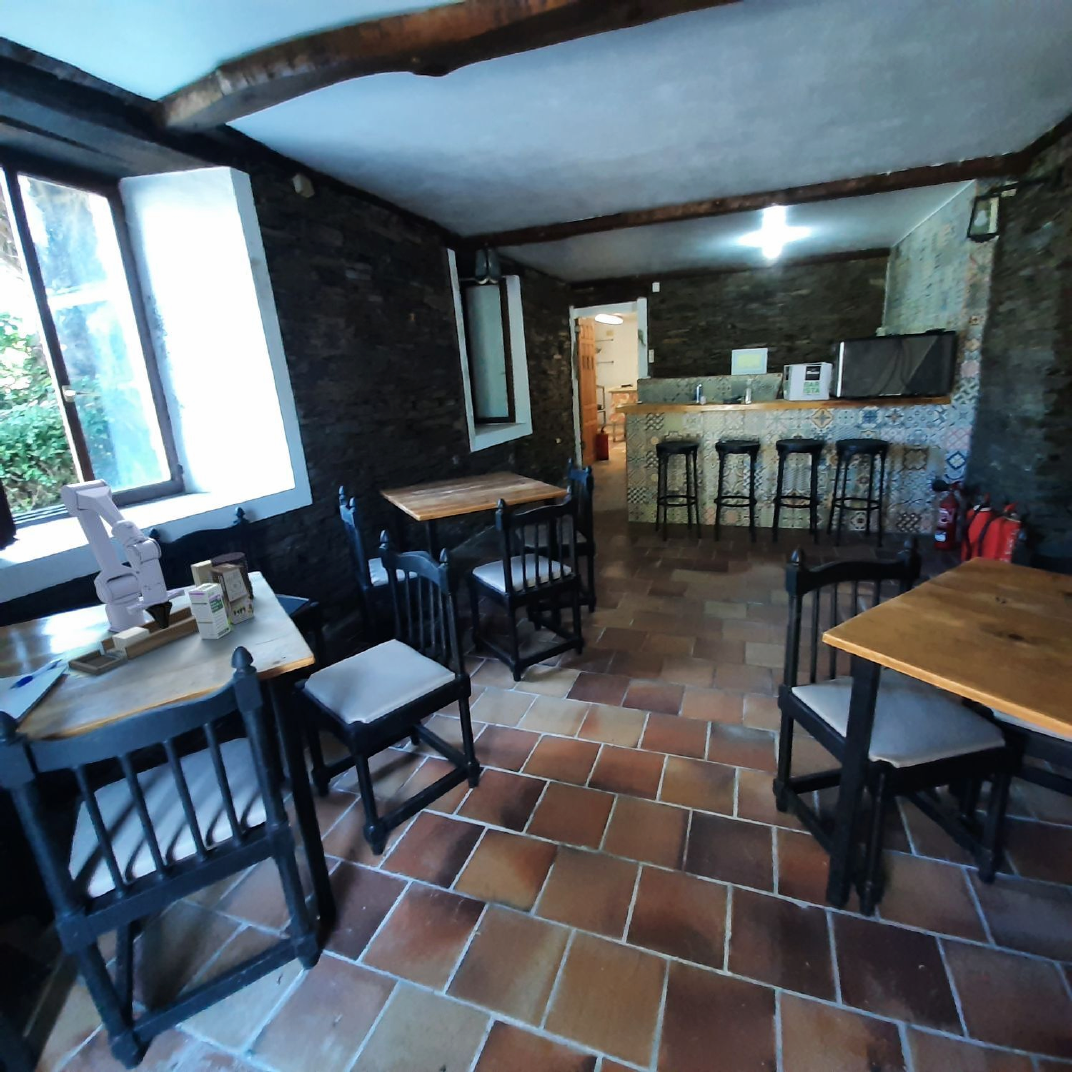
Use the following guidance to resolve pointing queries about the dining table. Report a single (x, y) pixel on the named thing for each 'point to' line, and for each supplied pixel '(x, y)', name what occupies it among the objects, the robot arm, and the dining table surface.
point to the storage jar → (236, 560)
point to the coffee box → (233, 590)
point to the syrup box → (210, 611)
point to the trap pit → (96, 662)
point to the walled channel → (156, 634)
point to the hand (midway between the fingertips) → (164, 627)
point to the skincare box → (201, 572)
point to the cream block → (129, 637)
